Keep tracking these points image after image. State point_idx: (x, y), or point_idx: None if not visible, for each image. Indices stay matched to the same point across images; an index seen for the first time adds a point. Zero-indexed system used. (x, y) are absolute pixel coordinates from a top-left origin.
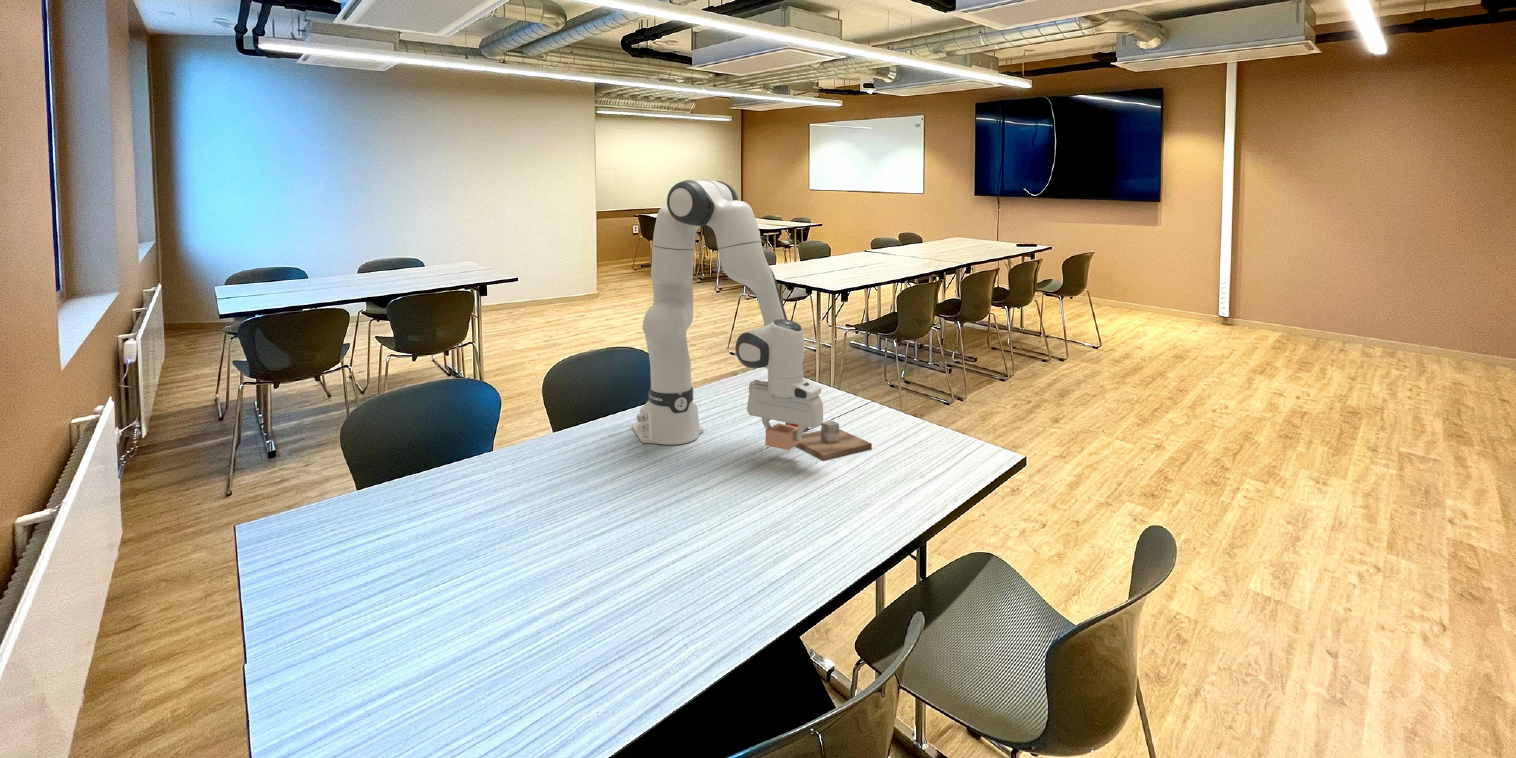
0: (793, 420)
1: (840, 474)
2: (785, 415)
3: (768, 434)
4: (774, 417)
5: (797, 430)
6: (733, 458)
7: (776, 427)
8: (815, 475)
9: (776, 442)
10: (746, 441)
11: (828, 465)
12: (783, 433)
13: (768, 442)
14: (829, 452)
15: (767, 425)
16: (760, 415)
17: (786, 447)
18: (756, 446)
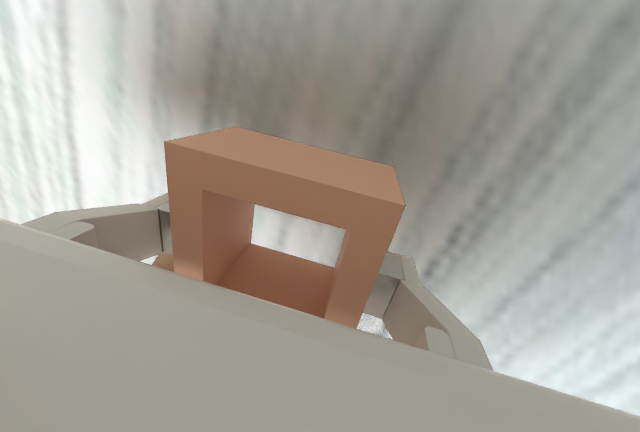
0: (12, 257)
1: (74, 109)
2: (69, 338)
3: (373, 185)
4: (304, 340)
5: (177, 272)
6: (557, 161)
7: (330, 296)
8: (140, 63)
9: (308, 153)
10: (499, 341)
11: (152, 185)
12: (223, 169)
13: (371, 166)
14: (166, 259)
15: (409, 309)
16: (544, 405)
17: (242, 132)
18: (452, 304)
